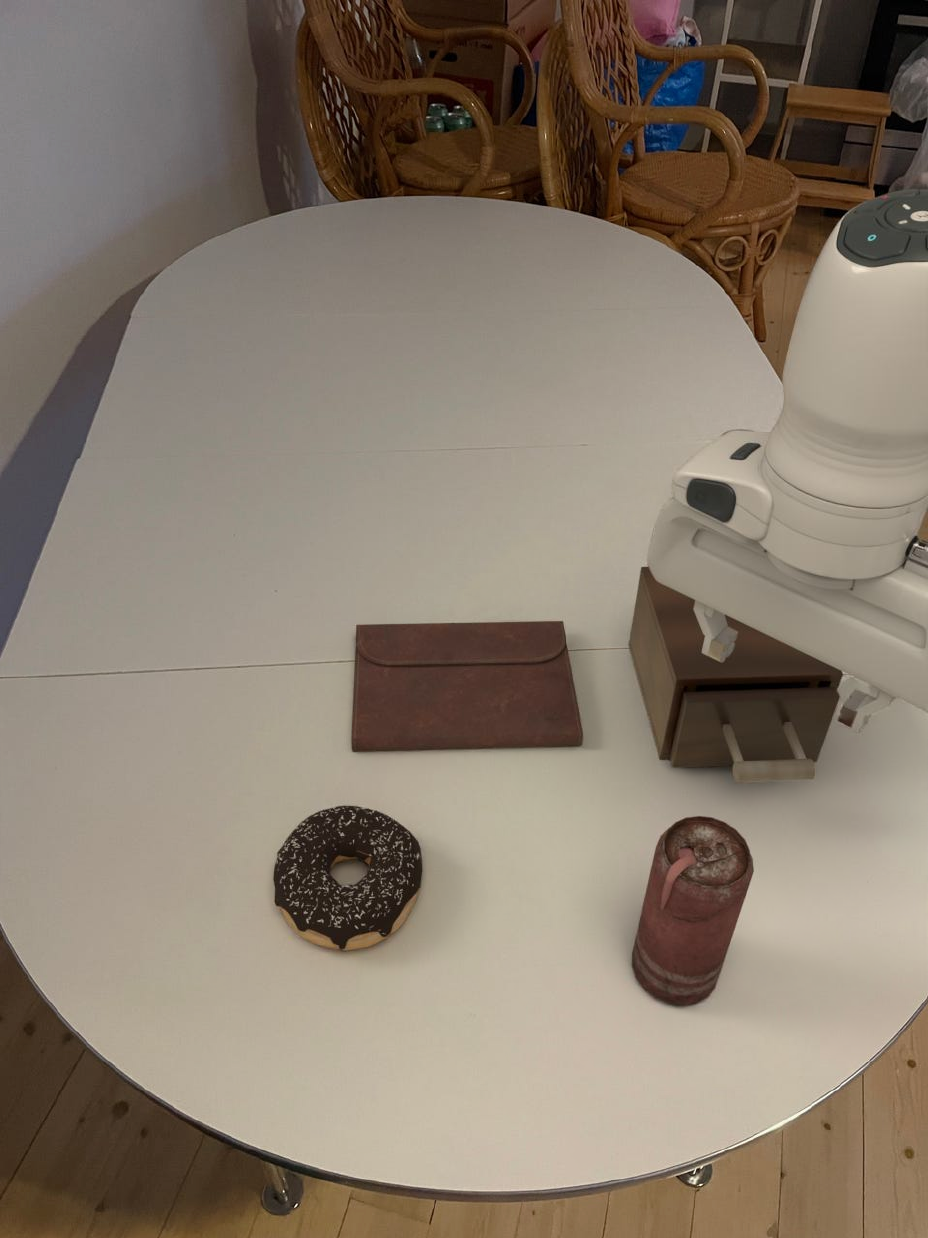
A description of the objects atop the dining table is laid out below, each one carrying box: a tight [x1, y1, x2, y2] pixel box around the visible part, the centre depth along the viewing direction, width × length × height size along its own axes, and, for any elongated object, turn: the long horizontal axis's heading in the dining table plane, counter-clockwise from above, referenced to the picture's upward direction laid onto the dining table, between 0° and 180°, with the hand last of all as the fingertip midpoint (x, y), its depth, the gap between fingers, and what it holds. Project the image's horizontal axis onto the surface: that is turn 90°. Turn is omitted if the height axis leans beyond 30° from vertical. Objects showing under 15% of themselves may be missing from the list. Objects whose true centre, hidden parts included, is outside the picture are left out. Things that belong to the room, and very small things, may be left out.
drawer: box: [669, 681, 841, 783], centre depth 88 cm, size 19×12×8 cm, turn 4°
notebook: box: [350, 620, 584, 752], centre depth 94 cm, size 15×20×2 cm
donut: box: [272, 804, 424, 951], centre depth 77 cm, size 11×12×4 cm
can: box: [631, 815, 755, 1007], centre depth 69 cm, size 6×6×14 cm
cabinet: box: [627, 566, 844, 761], centre depth 92 cm, size 15×14×10 cm
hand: (782, 687), depth 66 cm, fingers open, 8 cm apart
